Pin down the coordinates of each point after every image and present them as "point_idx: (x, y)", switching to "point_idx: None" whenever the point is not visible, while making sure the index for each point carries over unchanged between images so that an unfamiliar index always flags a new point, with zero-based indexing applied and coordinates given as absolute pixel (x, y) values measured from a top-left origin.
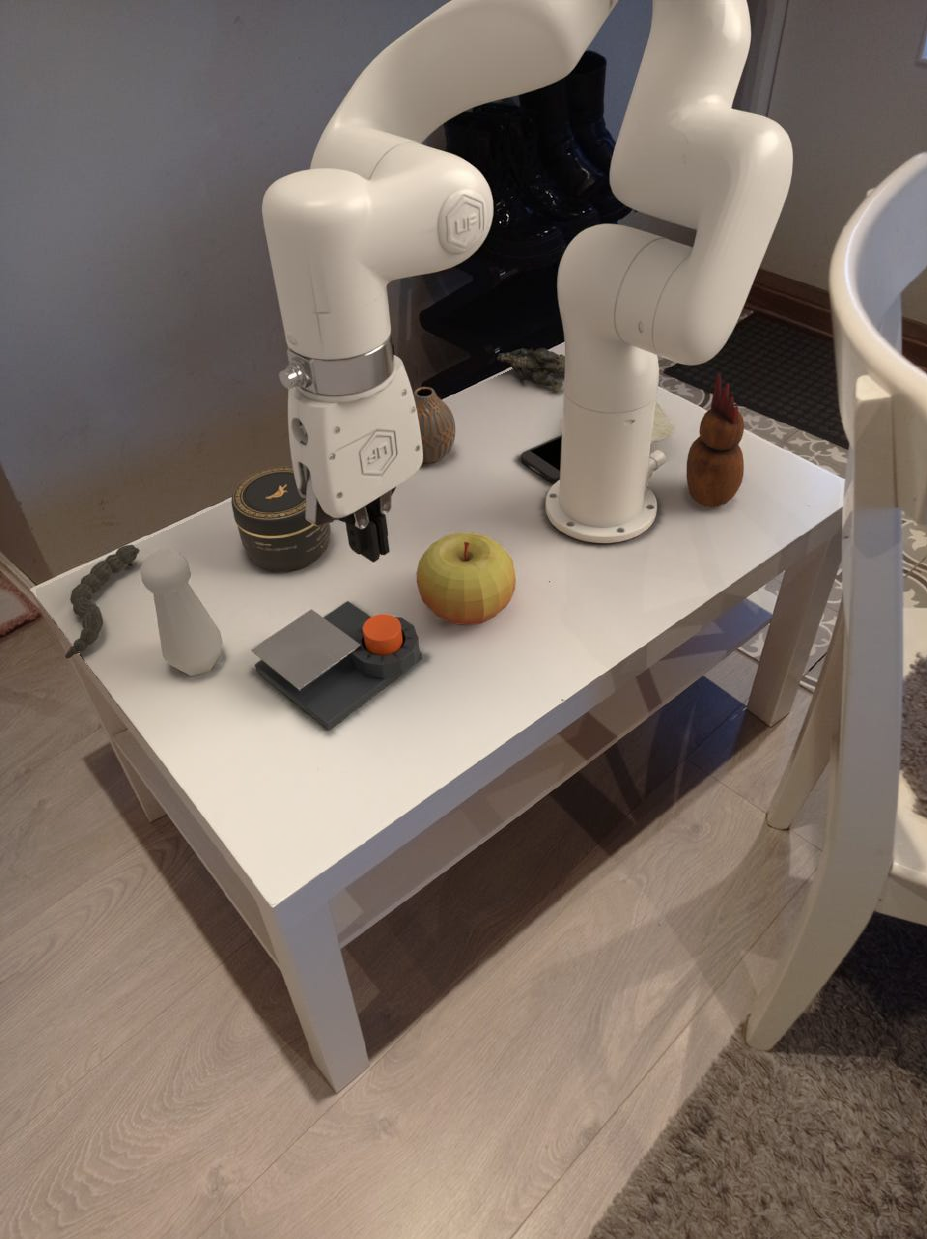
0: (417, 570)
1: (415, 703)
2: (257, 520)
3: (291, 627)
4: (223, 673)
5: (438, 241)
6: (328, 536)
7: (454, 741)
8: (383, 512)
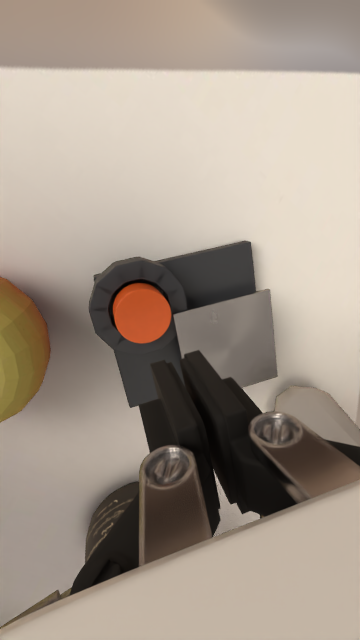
0: (35, 392)
1: (141, 213)
2: None
3: None
4: (282, 376)
5: None
6: (100, 513)
7: (132, 118)
8: (172, 456)
